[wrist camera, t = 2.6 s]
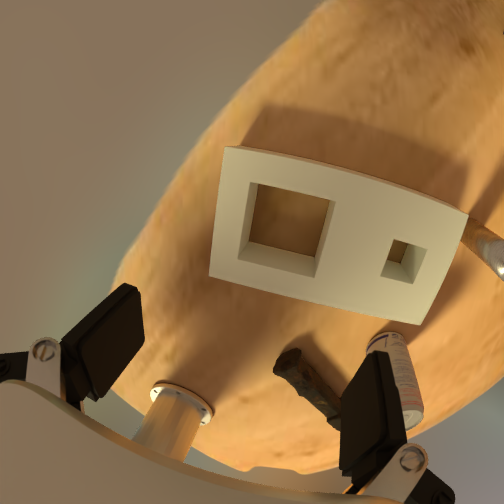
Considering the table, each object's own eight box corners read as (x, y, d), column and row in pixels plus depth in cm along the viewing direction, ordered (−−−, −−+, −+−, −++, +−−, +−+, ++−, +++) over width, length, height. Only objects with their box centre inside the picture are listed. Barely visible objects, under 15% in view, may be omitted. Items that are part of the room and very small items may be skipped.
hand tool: (274, 353, 34) (268, 379, 30) (300, 343, 32) (296, 369, 28) (334, 417, 38) (334, 440, 34) (356, 411, 36) (356, 433, 32)
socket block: (409, 301, 27) (420, 325, 23) (222, 256, 30) (208, 275, 26) (448, 203, 22) (468, 215, 18) (239, 145, 25) (224, 146, 20)
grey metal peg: (472, 246, 23) (513, 285, 14) (454, 240, 23) (496, 279, 15) (481, 222, 21) (527, 255, 13) (463, 214, 22) (510, 246, 14)
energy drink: (358, 356, 31) (364, 434, 20) (378, 325, 29) (394, 406, 18) (391, 363, 31) (404, 436, 20) (412, 334, 28) (435, 409, 18)
